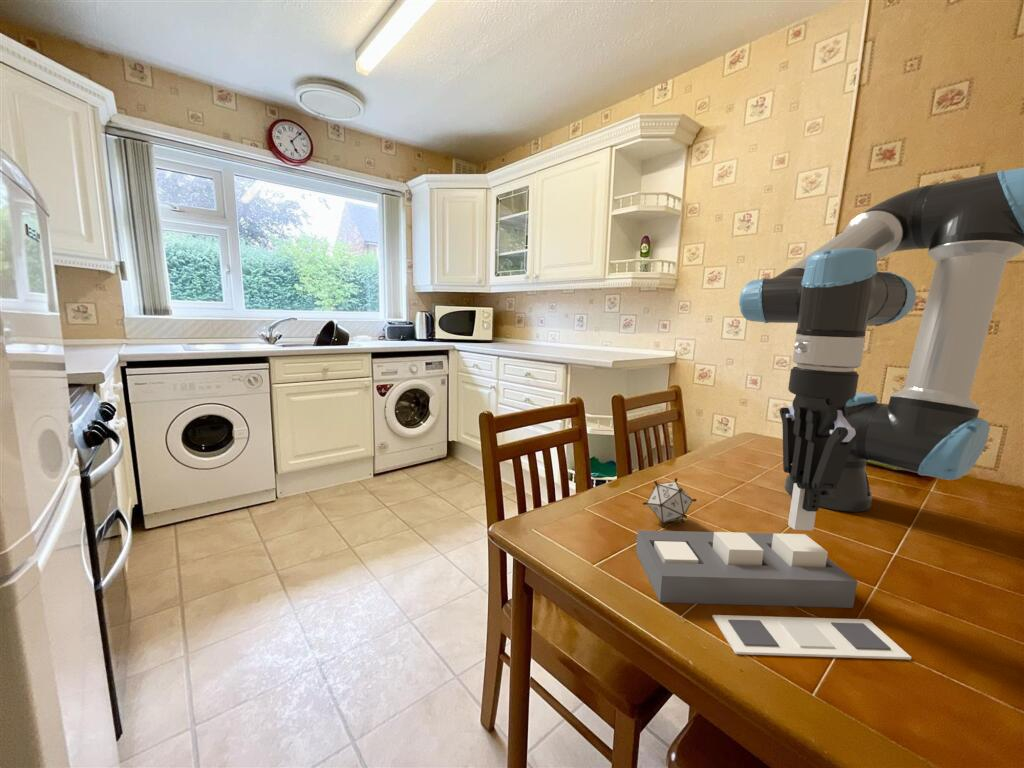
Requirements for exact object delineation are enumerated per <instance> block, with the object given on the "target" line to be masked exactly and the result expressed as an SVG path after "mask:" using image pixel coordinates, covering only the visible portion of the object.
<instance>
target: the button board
mask: <svg viewBox="0 0 1024 768" xmlns="http://www.w3.org/2000/svg"><path fill="white" fill-rule="evenodd" d="M714 532H715V531H689V530H688V531H685V530H684V531H683V530H682V531H681V530H678V531H677V530H676V531H675V530H648V529H647V530H645V529H644V530H642V529H641V530H639V529H638V530H637V534H636V547H635V553H636V556H637V558H638V560H639V562H640V564H641V566H642V568H643V570H644V573H645V574H646V576H647V578H648V581H649V582H650V585H651V587H652V589H653V591H654V593H655V595H656V597H657V599H658V602H659V603H661V604H662V603H665V604H667V603H668V604H670V603H671V604H696V605H697V604H701V605H702V604H703V605H704V604H705V605H706V604H707V605H738V606H739V605H741V606H770V607H771V606H774V607H775V606H776V607H805V608H807V607H811V608H841V609H842V608H843V609H845V608H846V609H853V608H854V603H855V598H856V592H857V586H858V580H856V579H855V578H854V577H853V576H851V574H849V573H848V572H847V571H845V569H843V568H841V567H840V566H839V565H838V564H836V563H835V562H834V561H833V560H832V559H830V558H829V557H828V556H827V561H826V567H796V566H789V565H788V564H787V563H786V562H785V561H784V560H783V559H782V558H781V557H780V556H779V555H778V554H777V553H775V552H774V551H773V550H772V549H771V547H772V540H773V533H765V532H760V533H759V532H745V533H746V534H747V535H748V536H749V537H751V538H752V539H753V540H754V541H755V542H756V543H757V544H758V545H759V546H760V547H761V548H762V549H763V550H764V551H763V559H762V566H758V565H726V564H725V563H724V562H723V560H722V559H721V558H720V557H719V556H718V554H717V553H716V552H715V551H714V549H713V548H712V547H713V538H714ZM654 541H670V542H686V543H687V545H688V546H689V547H690V549H691V550H692V551H693V553H694V554H695V556H696V557H697V558H698V560H699V562H698V564H682V563H662V562H661V560H660V558H659V557H658V555H657V553H656V551H655V550H654Z"/></svg>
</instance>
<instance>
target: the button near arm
mask: <svg viewBox="0 0 1024 768" xmlns="http://www.w3.org/2000/svg"><path fill="white" fill-rule="evenodd" d="M772 534H773V540H772V547H771V549H772V550H773V551H774V552H775V553H777V554H778V555H779V556H780V557H781V558H782V559H783V560H784V561H785V562H786V563H787V564H788V565H789V566H796V567H826V561H827V557H828V554H829V552H828V551H827V550H826V549H825V548H823V547H822V546H821V545H820V544H818V543H817V542H816V541H814V540H813V539H812V538H811V537H809V536H808V535H807V534H806V533H778V532H777V533H772Z"/></svg>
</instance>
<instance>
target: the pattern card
mask: <svg viewBox="0 0 1024 768" xmlns="http://www.w3.org/2000/svg"><path fill="white" fill-rule="evenodd" d="M711 617H712V619H713V621H714V622H715V624H716V625H717V627H718V628H719V629H720V632H721V633H722V635H723V637H724V638H725V640H726V641H727V643H728V644H729V646H730V647H731V650H733V653H734V654H735V655H752V656H754V655H755V656H784V657H785V656H786V657H819V658H845V659H846V658H852V659H879V660H880V659H883V660H890V659H891V660H912V656H911V655H909V653H907V652H906V651H905V650H904V649H903V648H902V647H900V646H899V645H898V644H897V643H896V642H895V641H894V640H893V639H891V638H890V637H889V636H888V635H887V634H886V633H884V631H882V630H881V629H880V628H879V627H878V626H876V625H875V623H873V621H871V620H870V619H866V618H860V619H859V618H836V617H835V618H832V617H829V618H828V617H827V618H826V617H800V616H799V617H796V616H794V617H793V616H767V615H765V616H764V615H730V614H728V615H727V614H726V615H725V614H723V615H722V614H712V616H711Z"/></svg>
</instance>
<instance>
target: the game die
mask: <svg viewBox="0 0 1024 768" xmlns="http://www.w3.org/2000/svg"><path fill="white" fill-rule="evenodd" d="M678 480H679V479H678V477H675V478H674V481H669V482H668V481H667V482H663V483H662V482H661V483H660V482H659V483H658V482H657V480H653V484H654V485H655V486H653V488H652V489H653V490H652V491H651V494H649V497H648V499H647V501H646V502H643V503H642V505H644V506H645V505H646V506H648V508H649V509H650V510H652V512H653V513H654V514H655V516H656V517H657V518H658V519H659V520H660V521H661V523H660V528H662V527H664V525H665V523H666V524H667V523H670V522H678V521H680V522H681V523H683V524H684V523H685V520H686V519H688V515H686V513H687V512H688V510H689V508H690V506H691V504H692V503H693V502H697V501H698V499H696V498H692V497H691V496H689V494H688V493H687V492H686V491H685V490H684V488H682V487H681V485H680V484H679V483H678Z"/></svg>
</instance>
